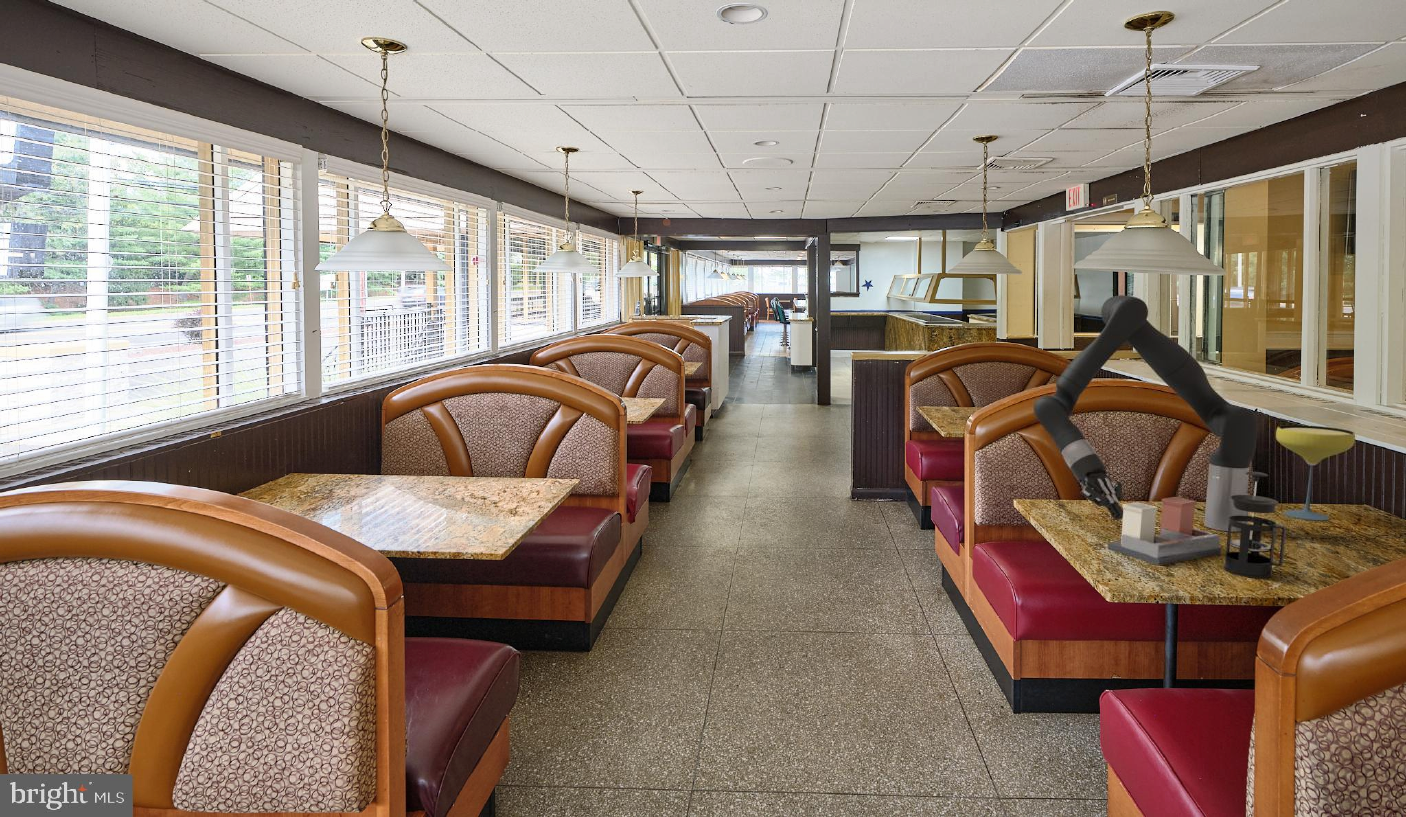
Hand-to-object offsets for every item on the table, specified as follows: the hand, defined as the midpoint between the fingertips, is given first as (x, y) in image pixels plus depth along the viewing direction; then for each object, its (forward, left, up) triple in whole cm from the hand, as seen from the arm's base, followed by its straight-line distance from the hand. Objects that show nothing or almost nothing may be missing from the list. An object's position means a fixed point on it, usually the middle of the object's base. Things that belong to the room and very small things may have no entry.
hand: (1120, 518), depth 210 cm
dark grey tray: (-8, +5, -7) cm, 12 cm away
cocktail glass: (-75, -12, -8) cm, 76 cm away
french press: (-15, +24, -8) cm, 29 cm away
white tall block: (-1, +5, -6) cm, 8 cm away
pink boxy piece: (-15, +3, -6) cm, 16 cm away
